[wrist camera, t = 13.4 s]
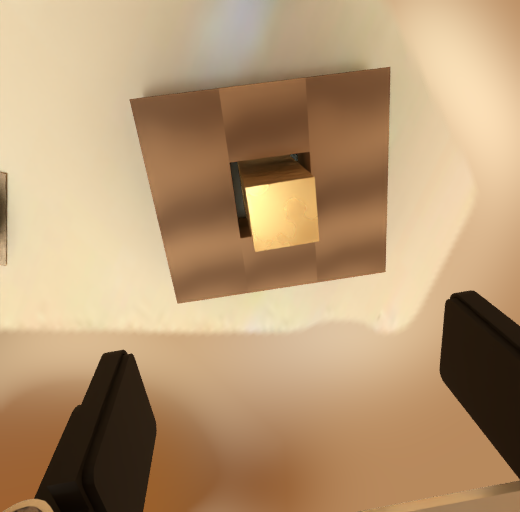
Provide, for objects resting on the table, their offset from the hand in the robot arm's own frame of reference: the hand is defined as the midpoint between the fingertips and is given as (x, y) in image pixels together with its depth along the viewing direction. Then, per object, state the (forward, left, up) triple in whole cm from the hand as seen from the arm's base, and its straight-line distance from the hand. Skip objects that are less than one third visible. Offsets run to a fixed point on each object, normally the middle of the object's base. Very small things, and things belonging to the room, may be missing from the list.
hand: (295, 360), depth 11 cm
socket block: (0, +2, -24) cm, 24 cm away
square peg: (0, +2, -24) cm, 24 cm away
